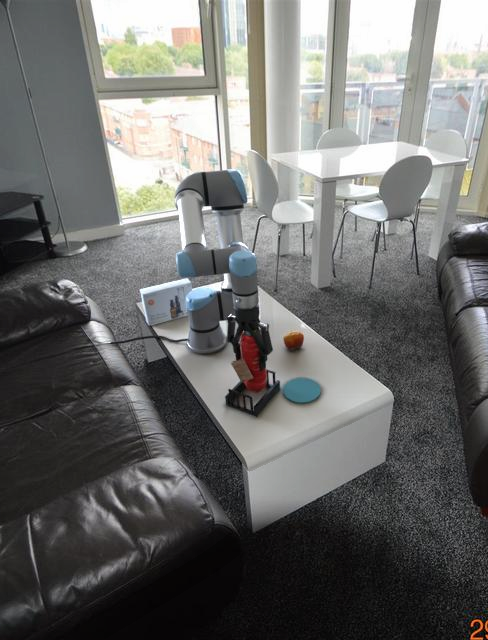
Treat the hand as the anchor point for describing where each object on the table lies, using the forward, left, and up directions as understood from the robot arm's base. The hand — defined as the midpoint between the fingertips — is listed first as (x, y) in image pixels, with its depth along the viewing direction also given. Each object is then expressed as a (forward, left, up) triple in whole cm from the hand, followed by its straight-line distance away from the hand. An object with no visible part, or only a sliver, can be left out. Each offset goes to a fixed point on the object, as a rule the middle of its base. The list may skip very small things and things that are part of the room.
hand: (251, 365), depth 142 cm
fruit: (-2, +33, -14) cm, 36 cm away
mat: (+13, +10, -14) cm, 22 cm away
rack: (0, 0, -14) cm, 14 cm away
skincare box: (-60, +28, -14) cm, 68 cm away
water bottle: (0, 0, -10) cm, 10 cm away
